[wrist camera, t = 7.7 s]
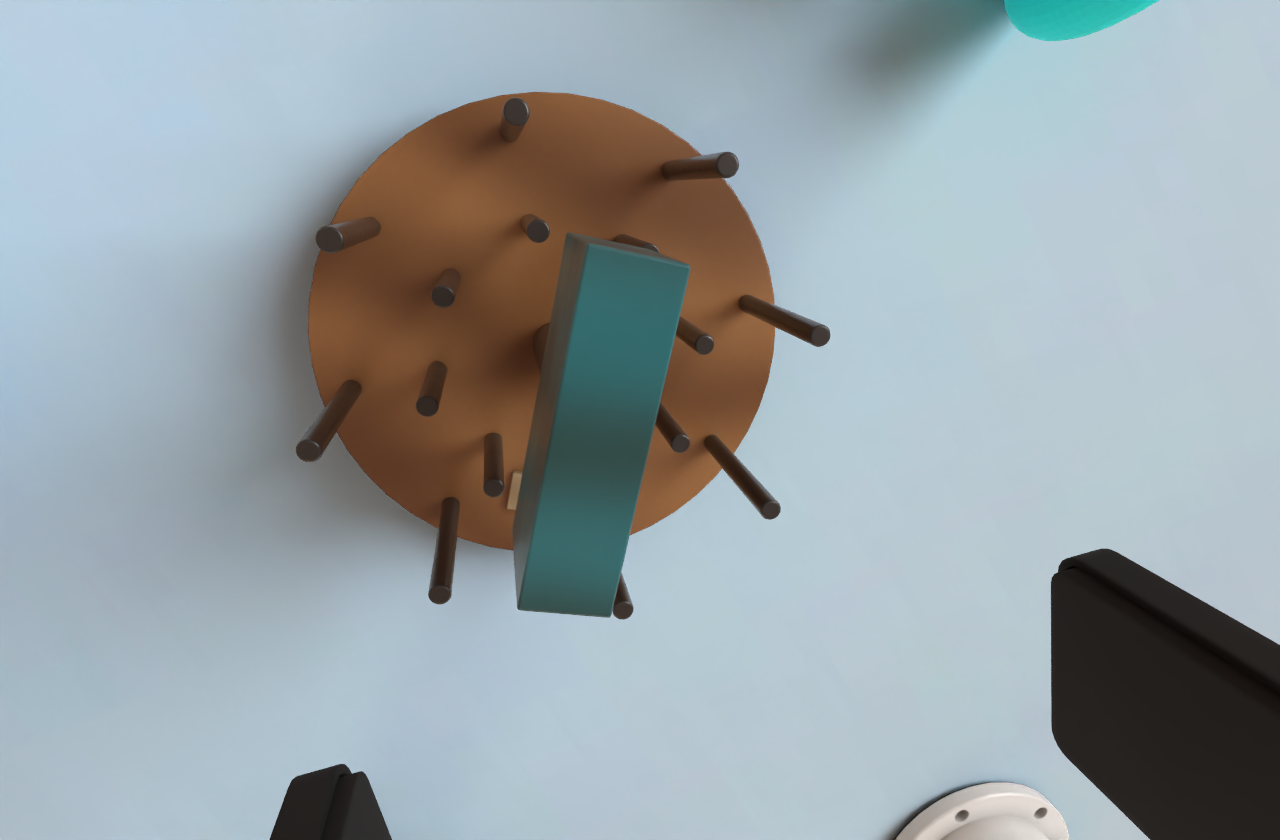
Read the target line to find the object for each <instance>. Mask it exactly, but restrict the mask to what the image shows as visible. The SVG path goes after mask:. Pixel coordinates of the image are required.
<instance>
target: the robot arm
mask: <svg viewBox="0 0 1280 840" xmlns="http://www.w3.org/2000/svg"><path fill="white" fill-rule="evenodd" d="M1051 696H1052V732H1053V735H1054V739H1055V741H1056V743H1057V745H1058V747H1059V748H1060V750H1061V751H1062V753H1063V754H1064V755H1065V756H1066V757H1067V758H1068V759H1069V760H1070V761H1071V762H1072V763H1073V764H1074V765H1075V766H1076V767H1077V768H1078V769H1079V770H1080V771H1081V772H1082V773H1083V774H1084V775H1085V776H1086V777H1087V778H1088V779H1089V780H1090V781H1091V782H1092V783H1093V784H1094V785H1095V786H1096V787H1097V788H1098V789H1099V790H1100V791H1101V792H1102V793H1103V794H1104V795H1105V796H1107V797H1108V798H1109V799H1110V800H1111V801H1112V802H1113V803H1114V804H1115V805H1116V806H1117V807H1118V808H1119V809H1120V810H1121V811H1122V812H1123V813H1124V814H1125V815H1126V816H1127V817H1128V818H1129V819H1130V820H1131V821H1132V822H1133V823H1134V824H1135V825H1136V826H1137V827H1138V828H1139V829H1140V830H1141V831H1142V832H1143V833H1144V834H1145V835H1146V836H1147V837H1148V838H1149V839H1150V840H1280V645H1279V644H1277V643H1275V642H1273V641H1272V640H1270V639H1268V638H1266V637H1265V636H1263V635H1261V634H1259V633H1258V632H1256V631H1254V630H1252V629H1251V628H1249V627H1247V626H1245V625H1244V624H1242V623H1240V622H1238V621H1237V620H1235V619H1233V618H1231V617H1229V616H1228V615H1226V614H1224V613H1222V612H1221V611H1219V610H1217V609H1215V608H1214V607H1212V606H1210V605H1208V604H1207V603H1205V602H1203V601H1201V600H1200V599H1198V598H1196V597H1194V596H1193V595H1191V594H1189V593H1187V592H1186V591H1184V590H1182V589H1180V588H1179V587H1177V586H1175V585H1173V584H1172V583H1170V582H1168V581H1166V580H1165V579H1163V578H1161V577H1159V576H1158V575H1156V574H1154V573H1152V572H1150V571H1149V570H1147V569H1145V568H1143V567H1142V566H1140V565H1138V564H1136V563H1135V562H1133V561H1131V560H1129V559H1128V558H1126V557H1124V556H1122V555H1121V554H1119V553H1117V552H1115V551H1113V550H1110V549H1099V550H1095V551H1091V552H1088V553H1084V554H1081V555H1077V556H1074V557H1070V558H1067V559H1065V560H1063V561H1062V562H1061V564H1060V565H1059V569H1058V573H1056V574H1054V576H1053V577H1052V581H1051ZM270 840H392V839H391V836H390V834H389V831H388V829H387V826H386V823H385V821H384V818H383V816H382V813H381V811H380V808H379V806H378V803H377V800H376V798H375V795H374V793H373V790H372V788H371V785H370V783H369V780H368V778H367V776H366V774H365V773H364V772H357V773H353V774H352V773H351V771H350V769H349V768H348V767H347V766H346V765H345V764H339V765H336V766H332V767H328V768H325V769H321V770H318V771H314V772H311V773H307V774H304V775H300V776H297V777H295V778H294V779H293V780H292V781H291V783H290V785H289V787H288V790H287V793H286V795H285V798H284V801H283V804H282V807H281V809H280V812H279V815H278V818H277V820H276V823H275V826H274V829H273V832H272V834H271V837H270ZM895 840H1069V836H1068V831H1067V826H1066V824H1065V822H1064V820H1063V818H1062V816H1061V814H1060V813H1059V812H1058V811H1057V810H1056V808H1055V807H1054V806H1053V805H1052V804H1051V803H1050V802H1049V801H1048V799H1047V798H1045V797H1044V796H1043V795H1041V794H1040V793H1039V792H1038V791H1036V790H1034V789H1031V788H1029V787H1027V786H1024V785H1020V784H1015V783H1009V782H1000V783H986V784H980V785H975V786H971V787H968V788H965V789H962V790H960V791H957V792H954V793H952V794H950V795H948V796H946V797H944V798H942V799H940V800H939V801H937V802H935V803H934V804H932V805H931V806H929V807H928V808H927V809H925V810H924V811H922V812H921V813H920V814H919V815H918V816H916V817H915V818H914V819H913V820H912V821H911V822H910V823H909V824H908V825H907V826H906V827H905V828H904V829H903V830H902V832H901V833H900V834H899V835H898V837H897V838H896V839H895Z"/></svg>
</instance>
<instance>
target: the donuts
mask: <svg viewBox="0 0 1280 840" xmlns="http://www.w3.org/2000/svg"><path fill="white" fill-rule="evenodd" d="M1157 1H1159V0H1004V3H1005V9H1006V12H1007V14H1008V16H1009V19H1010V21H1011V22H1012V23H1013V24H1014V26H1015V27H1016V28H1017V29H1018V30H1019V31H1021V32H1022V33H1024V34H1025V35H1027V36H1029V37H1032V38H1035V39H1039V40H1044V41H1059V40H1068V39H1074V38H1078V37H1082V36H1086V35H1089V34H1092V33H1094V32H1097V31H1099V30H1102V29H1104V28H1107V27H1110V26H1112V25H1114V24H1116V23H1119V22H1120V21H1122V20H1124V19H1126V18H1128V17H1130V16H1132V15H1134V14H1136V13H1138V12H1140V11H1142V10H1144V9H1145V8H1147V7H1149V6H1150V5H1152V4H1154V3H1156V2H1157Z"/></svg>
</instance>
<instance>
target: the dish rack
mask: <svg viewBox="0 0 1280 840" xmlns="http://www.w3.org/2000/svg"><path fill="white" fill-rule="evenodd" d="M738 167H739V162H738V159H737V157H736V156H735V155H734V154H733V153H731V152H722V153H716V154H710V155H703V156H702V155H701V154H700V153H699V152H698V151H697V150H695V149H694V148H693V147H692V146H691V145H690V144H689V143H688V142H686V141H685V140H683V139H682V138H680V137H679V136H677V135H676V134H675V133H673V132H672V131H670V130H669V129H667V128H666V127H664V126H663V125H661V124H659V123H657V122H655V121H653V120H651V119H649V118H647V117H645V116H643V115H641V114H639V113H637V112H635V111H633V110H631V109H628V108H625V107H622V106H619V105H616V104H613V103H610V102H607V101H604V100H601V99H596V98H590V97H585V96H580V95H574V94H569V93H548V92H530V93H519V94H509V95H501V96H497V97H492V98H488V99H484V100H480V101H476V102H472V103H468V104H466V105H463V106H461V107H458V108H456V109H453V110H451V111H448V112H446V113H443V114H441V115H439V116H436V117H435V118H433V119H431V120H430V121H428V122H426V123H424V124H423V125H421V126H419V127H418V128H416V129H414V130H412V131H411V132H409V133H407V134H406V135H405V136H404V137H402V138H401V139H400V140H399V141H397V142H396V143H395V144H394V145H392V146H391V147H390V148H389V149H387V150H386V151H385V152H384V153H382V154H381V155H380V156H379V157H378V158H377V160H376V161H375V162H374V163H373V164H372V165H371V166H370V167H369V168H368V169H367V170H366V171H365V172H364V174H363V175H362V176H361V177H360V178H359V179H358V180H357V182H356V183H355V185H354V186H353V187H352V189H351V190H350V192H349V193H348V195H347V196H346V198H345V199H344V201H343V202H342V203H341V205H340V206H339V208H338V210H337V212H336V214H335V216H334V218H333V220H332V222H331V224H330V226H325V227H322V228H321V229H319V230H318V232H317V234H316V243H317V245H318V247H319V248H320V252H319V255H318V258H317V261H316V265H315V268H314V273H313V279H312V285H311V291H310V297H309V317H308V336H309V344H310V353H311V361H312V367H313V371H314V374H315V378H316V382H317V386H318V389H319V393H320V396H321V399H322V401H323V403H324V406H325V409H324V410H323V411H322V413H321V414H320V415H319V417H318V418H317V419H316V421H315V422H314V423H313V425H312V426H311V427H310V428H309V430H308V431H307V432H306V434H305V435H304V436H303V438H302V439H301V440H300V442H299V443H298V444H297V446H296V453H297V456H298V457H299V458H300V459H301V460H303V461H305V462H314V461H316V460H318V459H319V458H320V457H321V455H322V454H323V452H324V450H325V449H326V447H327V446H328V444H329V443H330V441H331V439H332V438H333V436H334V435H335V433H336V432H337V433H338V435H339V437H340V438H341V440H342V442H343V443H344V445H345V447H346V449H347V450H348V451H349V453H350V454H351V455H352V457H353V458H354V459H355V460H356V462H357V463H358V464H359V466H360V467H361V468H362V469H363V471H364V472H365V473H366V474H367V475H368V476H369V477H370V478H371V479H372V480H373V481H374V482H375V483H376V484H377V485H378V486H379V487H380V488H381V489H382V490H383V491H384V492H385V493H386V494H387V495H388V496H389V497H391V498H392V499H393V500H395V501H396V502H397V503H399V504H400V505H401V506H403V507H404V508H405V509H406V510H408V511H409V512H410V513H412V514H414V515H415V516H417V517H419V518H421V519H422V520H424V521H426V522H427V523H429V524H431V525H433V526H434V527H436V528H438V534H437V541H436V548H435V554H434V561H433V567H432V574H431V580H430V587H429V593H428V596H429V599H430V600H431V601H432V602H433V603H435V604H444V603H446V602H447V601H448V600H449V599H450V598H451V593H452V583H453V573H454V562H455V552H456V541H457V537H460V538H462V539H465V540H469V541H472V542H475V543H479V544H482V545H486V546H489V547H495V548H501V549H507V550H513V551H514V565H515V581H516V597H517V608H518V610H523V611H535V612H547V613H560V614H572V615H584V616H596V617H610V616H611V614H612V611H613V614H614V616H615V617H616V618H618V619H627V618H628V617H630V616H631V615H632V613H633V605H632V602H631V599H630V596H629V593H628V590H627V587H626V584H625V582H624V579H623V576H622V573H621V570H622V566H623V562H624V557H625V553H626V549H627V544H628V540H629V536H630V535H632V534H634V533H636V532H638V531H641V530H643V529H645V528H647V527H650V526H652V525H653V524H655V523H657V522H658V521H660V520H662V519H663V518H665V517H667V516H668V515H670V514H672V513H673V512H675V511H676V510H678V509H679V508H680V507H681V506H683V505H684V504H685V503H687V502H688V501H689V500H691V499H692V498H693V497H695V496H696V495H697V494H698V493H699V492H700V491H701V490H702V489H703V488H704V487H705V486H706V485H707V484H708V483H709V482H710V481H711V480H712V479H713V478H714V477H715V476H716V475H717V474H718V473H719V471H720V470H721V469H722V468H723V470H724V471H725V472H726V473H727V474H728V476H729V477H730V478H731V479H732V480H733V482H734V483H735V484H736V485H737V486H738V488H739V489H740V490H741V491H742V492H743V494H744V495H745V496H746V497H747V498H748V500H749V501H750V502H751V503H752V504H753V506H754V507H755V508H756V509H757V510H758V512H759V513H760V514H761V515H762V516H763V517H764V518H765V519H774V518H776V517H777V516H778V515H779V513H780V509H781V508H780V504H779V503H778V502H777V501H776V500H775V499H774V497H773V496H772V495H771V494H770V493H769V492H768V491H767V490H766V489H765V488H764V487H763V485H762V484H761V483H760V482H759V481H758V480H757V479H756V478H755V477H754V476H753V475H752V473H751V472H750V471H749V470H748V469H747V468H746V467H745V466H744V465H743V464H742V463H741V462H740V460H739V459H738V458H737V457H736V456H735V455H734V452H735V451H736V449H737V448H738V446H739V444H740V443H741V441H742V440H743V438H744V436H745V435H746V433H747V432H748V429H749V427H750V425H751V423H752V421H753V419H754V417H755V415H756V413H757V410H758V408H759V406H760V403H761V400H762V397H763V394H764V391H765V388H766V385H767V382H768V377H769V372H770V367H771V363H772V358H773V351H774V338H775V327H776V328H779V329H781V330H783V331H785V332H787V333H789V334H791V335H793V336H795V337H797V338H799V339H801V340H803V341H805V342H807V343H810V344H812V345H814V346H816V347H821V346H823V345H825V344H826V343H827V342H828V341H829V339H830V331H829V329H828V327H826V326H825V325H822V324H820V323H817V322H815V321H813V320H810V319H808V318H805V317H803V316H800V315H798V314H795V313H793V312H790V311H788V310H786V309H783V308H781V307H778V306H776V305H774V294H773V288H772V283H771V277H770V271H769V267H768V264H767V261H766V257H765V254H764V251H763V248H762V245H761V242H760V239H759V237H758V235H757V233H756V230H755V228H754V226H753V224H752V222H751V220H750V217H749V215H748V213H747V212H746V210H745V208H744V207H743V205H742V204H741V202H740V201H739V199H738V197H737V196H736V194H735V193H734V191H733V190H732V188H731V187H730V186H729V184H728V183H727V182H726V181H725V180H724V178H730V177H732V176H734V175H735V174H736V172H737V170H738Z"/></svg>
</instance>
